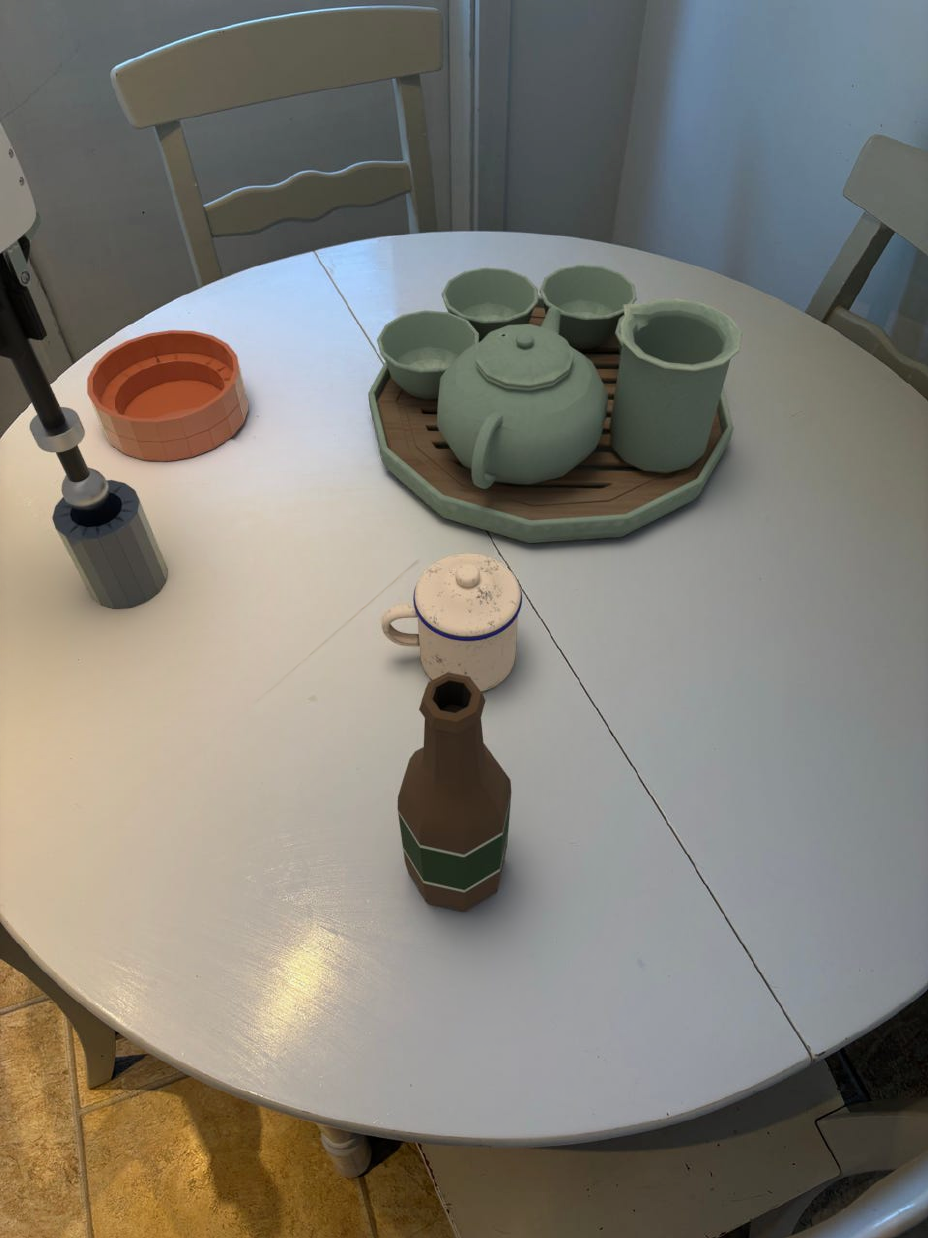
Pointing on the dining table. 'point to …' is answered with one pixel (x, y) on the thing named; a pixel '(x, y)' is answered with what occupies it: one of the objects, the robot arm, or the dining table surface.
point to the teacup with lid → (463, 619)
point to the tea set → (554, 403)
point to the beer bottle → (454, 800)
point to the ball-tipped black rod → (56, 424)
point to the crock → (113, 548)
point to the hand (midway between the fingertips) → (16, 343)
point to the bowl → (168, 395)
